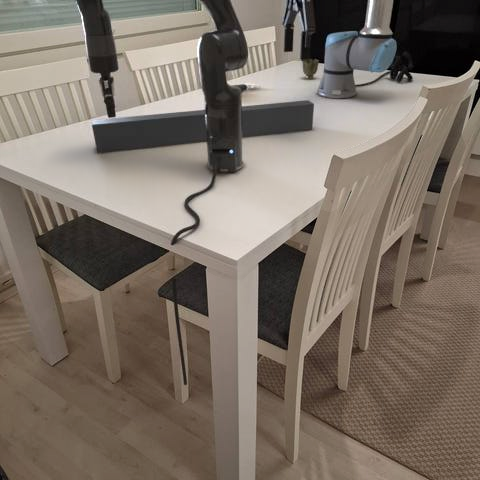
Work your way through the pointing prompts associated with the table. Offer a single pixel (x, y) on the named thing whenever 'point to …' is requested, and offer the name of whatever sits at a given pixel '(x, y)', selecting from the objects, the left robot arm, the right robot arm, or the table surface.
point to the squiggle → (401, 67)
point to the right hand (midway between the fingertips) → (296, 55)
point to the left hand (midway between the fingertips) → (111, 112)
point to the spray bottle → (247, 86)
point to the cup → (310, 67)
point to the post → (197, 126)
